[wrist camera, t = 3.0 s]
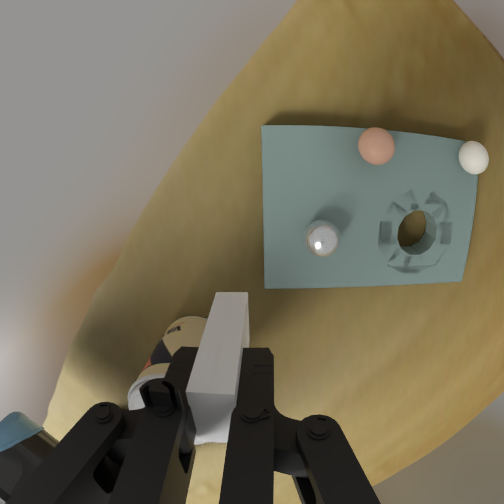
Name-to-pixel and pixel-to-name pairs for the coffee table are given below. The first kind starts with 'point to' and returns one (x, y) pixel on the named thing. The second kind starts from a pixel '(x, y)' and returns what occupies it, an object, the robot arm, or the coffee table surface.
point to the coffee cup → (168, 355)
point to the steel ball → (322, 238)
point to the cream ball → (473, 157)
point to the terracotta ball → (376, 146)
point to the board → (363, 208)
